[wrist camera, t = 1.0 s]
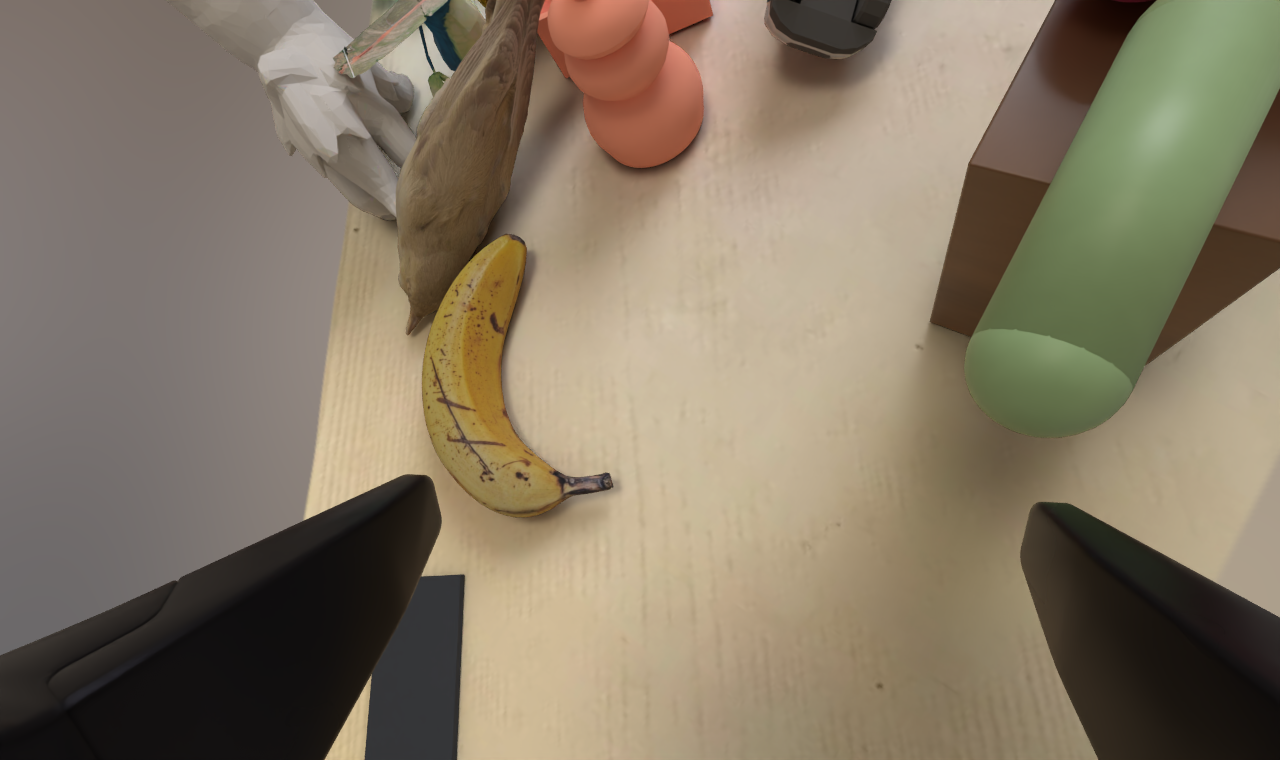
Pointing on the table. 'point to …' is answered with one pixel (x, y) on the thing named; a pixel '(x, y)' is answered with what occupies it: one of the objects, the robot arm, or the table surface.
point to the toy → (318, 93)
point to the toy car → (825, 24)
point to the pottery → (630, 72)
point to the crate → (1034, 149)
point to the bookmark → (384, 35)
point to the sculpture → (465, 155)
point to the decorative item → (483, 2)
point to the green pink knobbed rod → (1125, 216)
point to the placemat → (420, 678)
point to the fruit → (486, 392)
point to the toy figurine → (452, 35)
